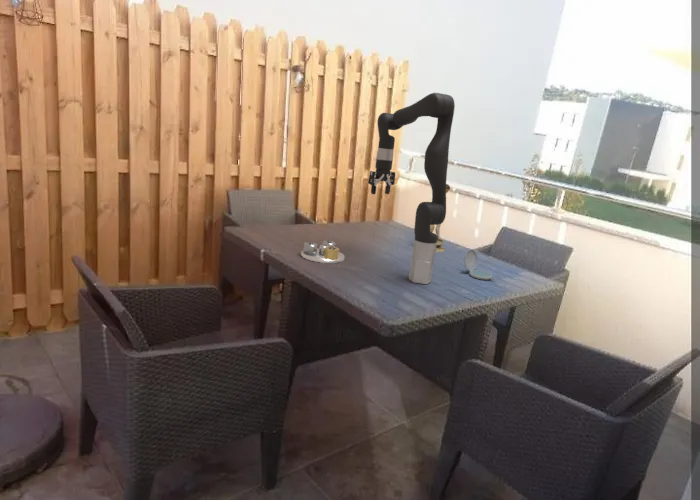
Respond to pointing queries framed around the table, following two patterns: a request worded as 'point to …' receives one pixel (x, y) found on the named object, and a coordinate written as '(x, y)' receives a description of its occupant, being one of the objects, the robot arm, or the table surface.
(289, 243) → the table surface
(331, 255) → the planet gear
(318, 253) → the carrier
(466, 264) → the pocket watch
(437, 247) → the statue
